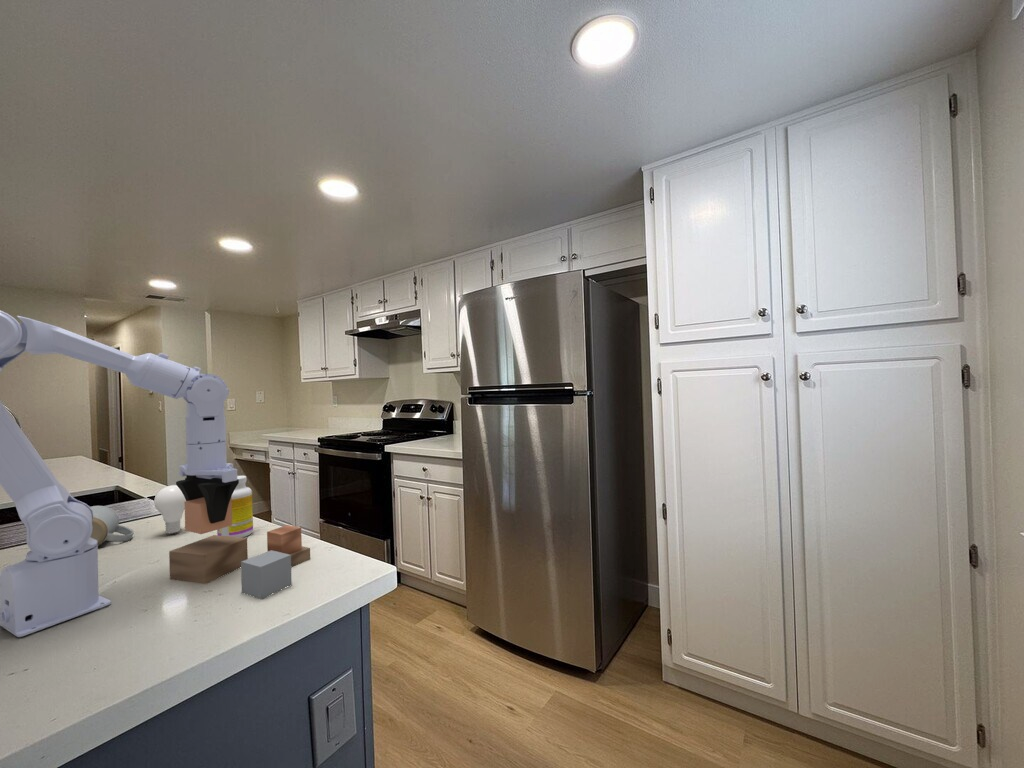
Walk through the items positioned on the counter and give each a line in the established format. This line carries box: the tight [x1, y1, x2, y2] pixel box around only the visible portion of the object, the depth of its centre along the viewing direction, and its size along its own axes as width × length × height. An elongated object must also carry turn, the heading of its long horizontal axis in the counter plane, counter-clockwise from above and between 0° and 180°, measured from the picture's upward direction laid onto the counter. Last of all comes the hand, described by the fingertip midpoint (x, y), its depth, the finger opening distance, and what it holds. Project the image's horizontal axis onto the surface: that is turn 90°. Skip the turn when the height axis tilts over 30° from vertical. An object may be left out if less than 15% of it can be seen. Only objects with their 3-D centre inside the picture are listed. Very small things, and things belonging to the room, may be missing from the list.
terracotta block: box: [184, 497, 232, 535], centre depth 74 cm, size 5×5×5 cm
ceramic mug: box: [89, 505, 135, 546], centre depth 90 cm, size 11×8×8 cm
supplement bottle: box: [216, 475, 254, 538], centre depth 93 cm, size 7×7×13 cm
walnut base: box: [168, 534, 249, 585], centre depth 75 cm, size 8×8×5 cm
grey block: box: [240, 550, 293, 600], centre depth 68 cm, size 5×5×5 cm
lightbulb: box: [153, 484, 186, 535], centre depth 95 cm, size 6×6×11 cm
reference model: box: [261, 524, 311, 567], centre depth 78 cm, size 6×6×6 cm
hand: (208, 519), depth 74 cm, fingers closed on terracotta block, 5 cm apart
